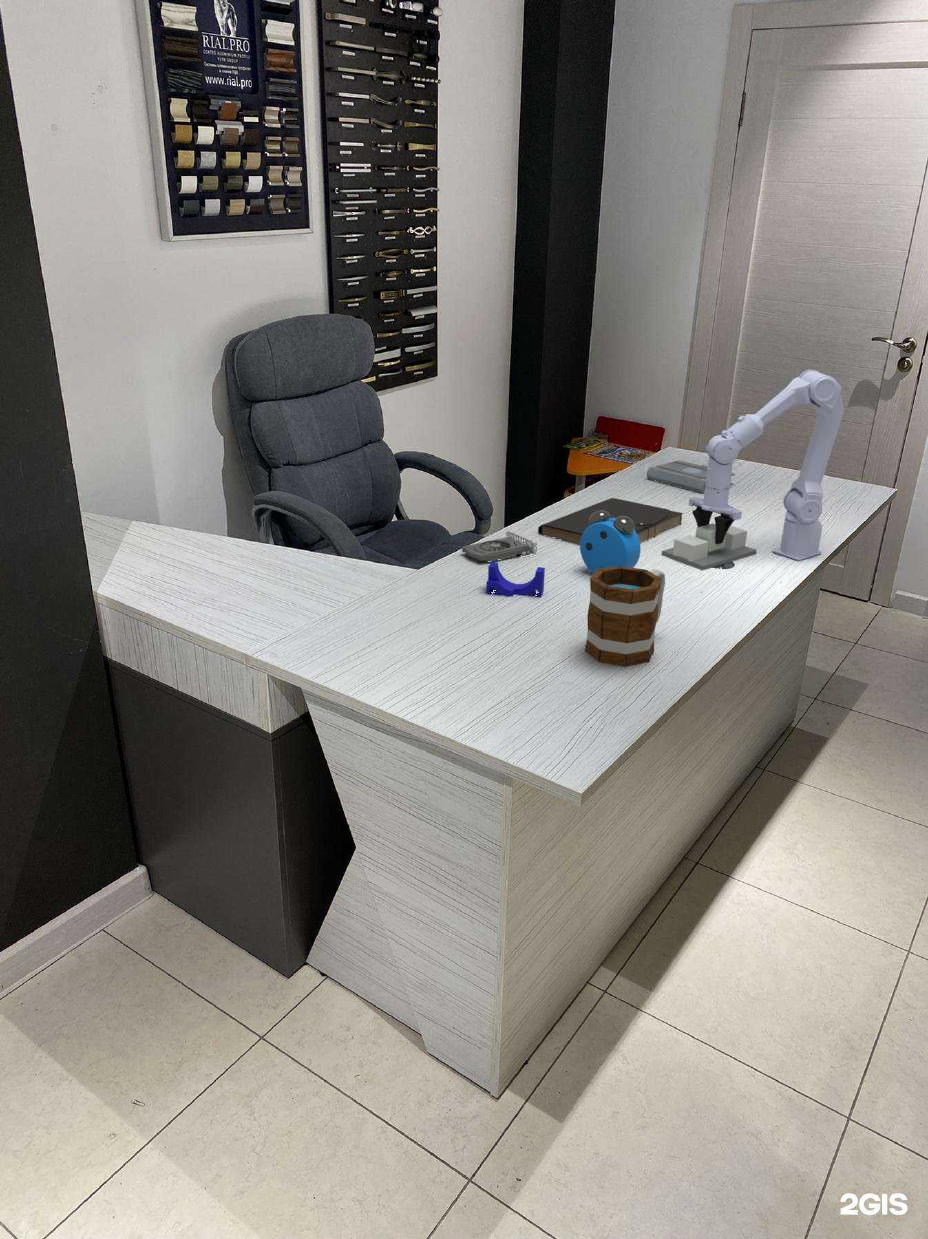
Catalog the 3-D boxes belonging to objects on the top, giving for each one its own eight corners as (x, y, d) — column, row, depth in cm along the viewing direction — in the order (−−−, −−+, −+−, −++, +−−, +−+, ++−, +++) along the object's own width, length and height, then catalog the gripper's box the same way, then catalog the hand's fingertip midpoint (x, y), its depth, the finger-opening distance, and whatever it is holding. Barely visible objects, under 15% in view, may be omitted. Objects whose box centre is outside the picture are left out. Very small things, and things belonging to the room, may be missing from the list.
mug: (628, 673, 175) (635, 598, 169) (570, 650, 184) (574, 578, 178) (685, 641, 188) (694, 570, 182) (628, 622, 197) (635, 553, 191)
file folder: (618, 541, 232) (538, 522, 247) (617, 557, 234) (537, 537, 248) (684, 511, 255) (607, 495, 270) (682, 526, 257) (606, 509, 271)
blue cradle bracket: (486, 594, 210) (486, 569, 207) (490, 587, 214) (491, 562, 211) (539, 600, 207) (541, 574, 205) (543, 593, 211) (544, 567, 209)
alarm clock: (638, 579, 219) (644, 516, 213) (623, 586, 215) (629, 522, 209) (592, 565, 227) (596, 504, 221) (576, 571, 223) (580, 510, 217)
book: (646, 481, 298) (647, 465, 296) (678, 472, 308) (679, 457, 306) (701, 496, 284) (703, 479, 282) (733, 486, 294) (735, 470, 292)
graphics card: (509, 529, 242) (538, 541, 232) (509, 543, 243) (537, 556, 234) (453, 541, 233) (480, 554, 224) (453, 555, 235) (480, 569, 225)
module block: (710, 542, 238) (712, 523, 236) (724, 547, 234) (727, 527, 232) (694, 547, 234) (696, 527, 232) (708, 552, 231) (711, 532, 229)
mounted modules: (725, 539, 243) (727, 524, 241) (745, 546, 238) (747, 530, 237) (672, 554, 231) (674, 539, 230) (691, 561, 227) (693, 546, 226)
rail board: (714, 539, 246) (715, 534, 245) (756, 553, 236) (756, 548, 235) (661, 554, 234) (662, 549, 234) (702, 570, 225) (703, 564, 224)
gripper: (682, 482, 231) (677, 535, 237) (730, 496, 221) (723, 551, 226) (702, 478, 235) (696, 530, 241) (750, 491, 225) (742, 546, 230)
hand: (710, 540), depth 234 cm, fingers closed on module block, 4 cm apart
